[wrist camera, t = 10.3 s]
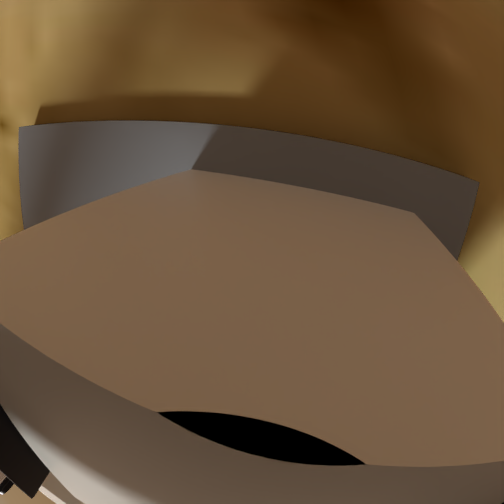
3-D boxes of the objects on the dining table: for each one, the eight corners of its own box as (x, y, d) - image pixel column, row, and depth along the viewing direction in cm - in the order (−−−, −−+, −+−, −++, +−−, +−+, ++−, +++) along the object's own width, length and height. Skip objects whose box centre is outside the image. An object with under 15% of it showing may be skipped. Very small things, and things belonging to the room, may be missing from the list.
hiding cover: (351, 383, 11) (330, 579, 4) (184, 342, 12) (74, 497, 5) (414, 212, 8) (567, 446, 1) (191, 169, 9) (-59, 271, 2)
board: (313, 492, 17) (311, 502, 16) (87, 413, 20) (81, 421, 19) (467, 177, 8) (479, 182, 7) (33, 125, 12) (18, 127, 11)
